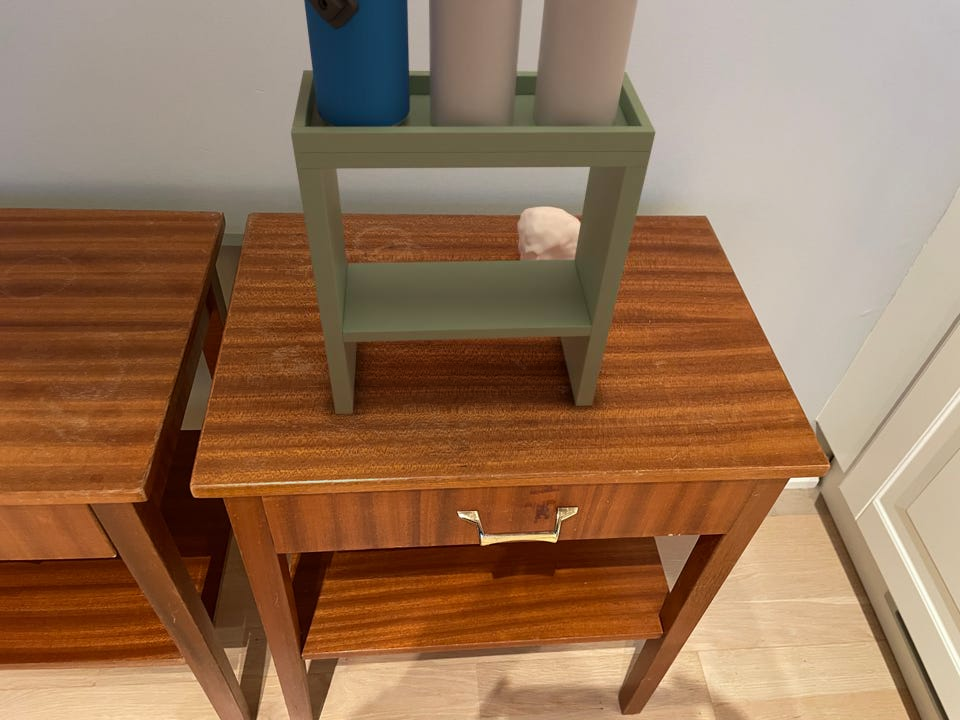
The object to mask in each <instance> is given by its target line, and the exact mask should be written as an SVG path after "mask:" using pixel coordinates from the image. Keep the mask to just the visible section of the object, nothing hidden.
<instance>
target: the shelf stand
mask: <svg viewBox="0 0 960 720" xmlns="http://www.w3.org/2000/svg"><path fill="white" fill-rule="evenodd" d="M647 171H648V166H647V167H589V170H588V178H587V183H586V189H585V194H584V201H583V206H582V213H581V219H580V223H581V224H580V230H579V236H578V241H577V247H576V253H575V259H574V260H521V259H518V260H467V261H466V260H465V261H464V260H462V261H410V262H409V261H408V262H407V261H405V262H403V261H402V262H401V261H400V262H348V257H347V250H346V242H345V241H346V240H345V233H344V232H345V231H344V222H343V214H342V206H341V195H340V189H339V179H338V170H337V169H297V168H296V174H297V179H298V186H299V192H300V199H301V204H302V210H303V218H304V223H305V230H306V236H307V242H308V249H309V256H310V262H311V267H312V274H313V279H314V280H313V281H314V287H315V293H316V298H317V306H318V312H319V319H320V325H321V330H322V331H321V332H322V336H323V343H324V349H325V356H326V364H327V367H328V368H327V369H328V374H329V381H330V382H329V383H330V387H331V393H332V400H333V406H334V412H335V415H352V414H354V399H355V397H354V396H355V382H356V381H355V379H356V364H357V363H356V361H357V345H358V344H357V343H366V342H368V343H370V342H371V343H372V342H403V341H404V342H407V341H408V342H409V341H437V340H438V341H443V340H444V341H445V340H446V341H447V340H481V339H482V340H483V339H518V338H519V339H520V338H521V339H522V338H525V339H526V338H559V337H560V340H561V341H560V342H561V346H562V350H563V356H564V361H565V364H566V369H567V373H568V377H569V378H568V379H569V382H570V386H571V390H572V395H573V400H574V405H575V407H590V406H593V402H594V399H595V395H596V390H597V385H598V381H599V378H600V377H599V376H600V372H601V369H602V364H603V361H604V356H605V351H606V346H607V342H608V339H609V334H610V330H611V325H612V320H613V316H614V312H615V309H616V304H617V299H618V295H619V291H620V287H621V283H622V279H623V274H624V270H625V264H626V262H627V257H628V253H629V248H630V244H631V240H632V235H633V231H634V227H635V222H636V218H637V214H638V210H639V205H640V201H641V196H642V193H643V188H644V183H645V179H646V177H647Z"/></svg>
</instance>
